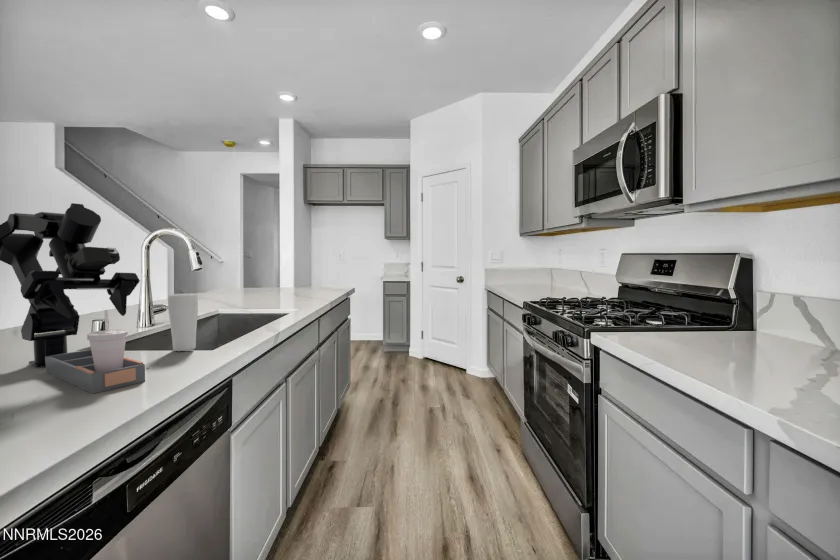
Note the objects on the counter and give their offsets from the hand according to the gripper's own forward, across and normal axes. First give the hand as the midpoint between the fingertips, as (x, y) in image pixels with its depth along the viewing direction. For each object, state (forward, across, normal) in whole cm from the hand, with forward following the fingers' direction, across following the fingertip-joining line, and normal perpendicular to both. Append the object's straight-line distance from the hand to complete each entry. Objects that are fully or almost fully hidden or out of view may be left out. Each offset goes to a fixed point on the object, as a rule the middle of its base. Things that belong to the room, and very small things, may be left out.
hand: (99, 316), depth 81 cm
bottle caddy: (+8, +1, +11) cm, 13 cm away
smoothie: (+13, 0, +5) cm, 14 cm away
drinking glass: (+3, +25, +14) cm, 29 cm away
